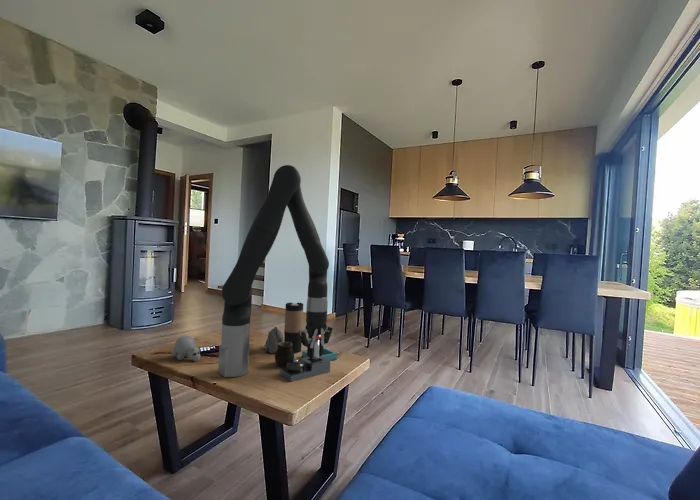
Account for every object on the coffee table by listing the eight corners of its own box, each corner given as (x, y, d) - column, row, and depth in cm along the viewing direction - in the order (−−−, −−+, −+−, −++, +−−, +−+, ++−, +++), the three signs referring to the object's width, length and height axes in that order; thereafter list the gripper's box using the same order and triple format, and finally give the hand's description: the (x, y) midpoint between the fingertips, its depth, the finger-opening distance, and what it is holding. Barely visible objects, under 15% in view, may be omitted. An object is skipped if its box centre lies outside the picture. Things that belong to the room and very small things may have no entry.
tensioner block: (291, 381, 111) (291, 365, 111) (279, 374, 117) (279, 358, 117) (330, 371, 121) (330, 356, 121) (317, 365, 128) (317, 350, 127)
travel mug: (292, 354, 138) (294, 306, 138) (279, 350, 143) (281, 303, 143) (305, 350, 144) (307, 304, 144) (293, 346, 149) (294, 301, 149)
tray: (315, 364, 128) (316, 357, 128) (301, 356, 136) (302, 350, 136) (336, 359, 135) (336, 353, 135) (322, 352, 142) (322, 346, 142)
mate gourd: (285, 360, 132) (287, 334, 132) (298, 365, 127) (299, 339, 127) (270, 364, 126) (271, 337, 126) (283, 370, 121) (284, 342, 121)
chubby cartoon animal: (187, 371, 123) (194, 351, 122) (167, 353, 128) (173, 334, 126) (203, 364, 130) (210, 346, 128) (183, 348, 135) (189, 330, 133)
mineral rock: (278, 343, 153) (279, 321, 153) (295, 348, 147) (296, 325, 147) (256, 350, 143) (256, 326, 142) (273, 355, 136) (274, 331, 136)
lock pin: (312, 373, 119) (314, 336, 119) (306, 370, 122) (307, 333, 122) (322, 371, 122) (324, 334, 121) (316, 367, 125) (317, 332, 125)
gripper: (305, 312, 114) (303, 363, 114) (338, 309, 123) (336, 356, 124) (294, 309, 120) (292, 357, 120) (326, 305, 129) (324, 350, 129)
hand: (315, 356), depth 122 cm, fingers open, 3 cm apart
